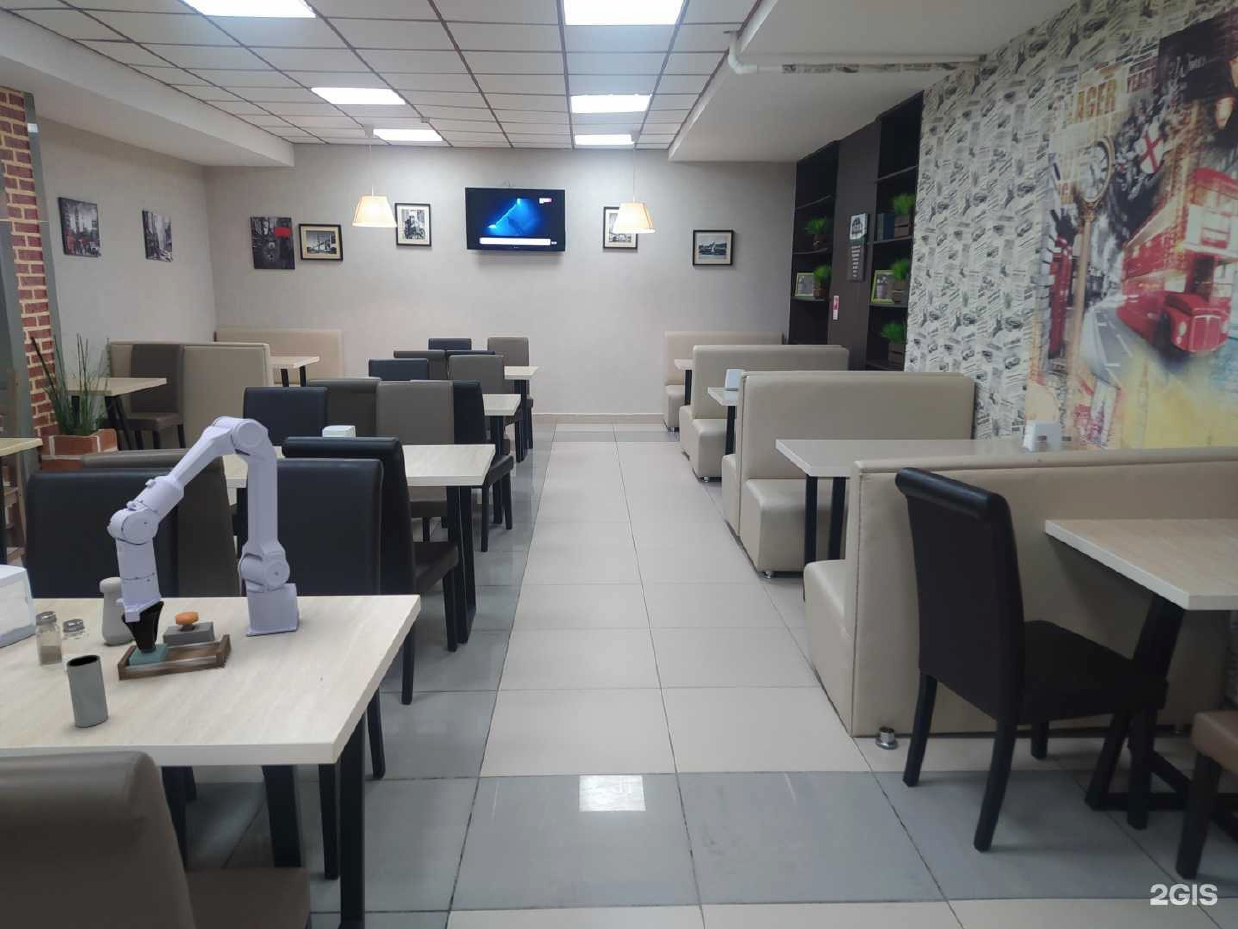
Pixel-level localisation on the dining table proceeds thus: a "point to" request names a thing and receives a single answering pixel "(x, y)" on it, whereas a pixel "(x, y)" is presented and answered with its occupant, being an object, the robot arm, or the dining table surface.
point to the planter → (87, 690)
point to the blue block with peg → (149, 654)
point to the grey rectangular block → (189, 634)
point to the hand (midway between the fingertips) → (147, 645)
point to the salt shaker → (113, 613)
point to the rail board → (178, 659)
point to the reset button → (187, 620)
